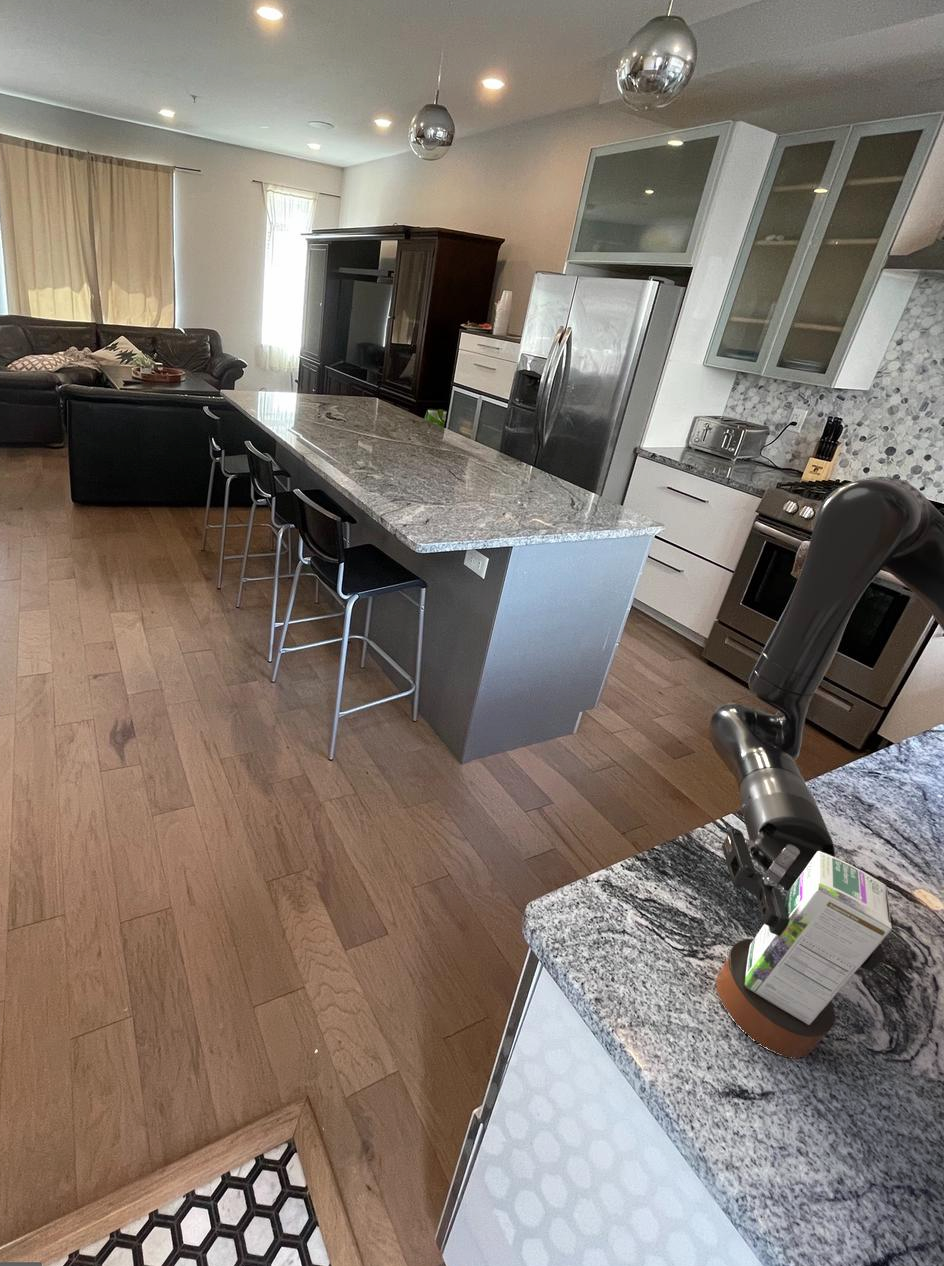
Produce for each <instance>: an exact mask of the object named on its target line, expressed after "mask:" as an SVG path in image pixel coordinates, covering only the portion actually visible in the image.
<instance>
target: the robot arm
mask: <svg viewBox="0 0 944 1266" xmlns="http://www.w3.org/2000/svg"><path fill="white" fill-rule="evenodd" d="M883 569H884V570H885V571H886V572H888V573H889V574H890V575H892V576H893V577H894V578H895V579H897V581H899V582H900V583H902V584H903V585H904V586H905V587H907V588H908V589H909V590H910V591H911V593H913V594H914V595H915V596H916V597H917V598H918V599H919V600H920V601H921V602H922V604H923V605H924V606H925V607H926V608H927V610H928V611H929V612H930V614H931V615H932V617H933V618H934V619H935V621H936V622H937V625H939V627H940V628H941V630H942V631H943V632H944V515H943V514H942V513H941V512H940V510H938V509H937V507H935V505H934V504H933V503H932V502H931V501H930V500H929V499H928V498H927V497H926V496H925V495H924V494H923V493H922V492H921V491H920V489H918V488H916V486H913V485H912V484H910V483H909V482H907V481H905V480H902V479H899V478H895V477H891V476H872V477H871V476H869V477H866V478H861V479H858V480H857V479H856V480H854V481H851V482H849V483H846V484H844V485H842V486H839V487H838V488H836V489H835V490H833V491H832V492H831V493H829V495H828V496H827V497H826V498H825V499H824V500H823V501H822V503H821V505H820V506H819V509H818V512H817V516H816V519H815V523H814V526H813V530H812V533H811V537H810V541H809V545H808V547H807V552H806V556H805V558H804V562H803V564H802V567H801V571H800V573H799V576H798V578H797V581H796V584H795V586H794V587H793V591H792V593H791V595H790V597H789V600H788V601H787V604H786V606H785V608H784V610H783V612H782V614H781V616H780V617H779V619H778V621H777V622H776V625H775V627H774V629H773V630H772V632H771V634H770V637H769V638H768V640H767V642H766V644H765V646H764V647H763V649H762V651H761V653H760V656H759V657H758V660H757V661H756V664H755V666H754V667H753V669H752V671H751V674H750V675H749V678H748V682H747V683H748V688H749V690H750V692H751V693H752V694H753V696H754V697H756V698H758V700H761V701H762V702H764V703H765V704H767V705H769V706H771V707H772V708H774V709H776V710H777V712H776V713H775V714H774V713H771V712H767V711H765V710H761V709H757V708H754V707H751V706H748V705H745V704H742V703H737V702H728V703H724V704H722V705H720V706H718V707H717V708H716V709H714V711H713V712H712V714H711V717H710V719H709V724H708V733H709V734H708V735H709V740H710V742H711V745H712V748H713V749H714V751H715V753H716V754H717V755H718V758H720V760H721V761H722V762H723V764H724V765H725V767H726V768H727V769H728V771H729V772H730V773H731V775H732V776H734V778H735V781H736V785H737V788H738V792H739V802H740V812H741V815H742V817H743V821H744V825H745V828H746V832H747V836H748V838H745V836H744V834H743V832H742V831H741V830H740V829H738V828H735V827H732V828H730V830H729V831H728V834H727V835H726V837H725V839H724V841H723V843H722V845H721V848H722V852H723V855H724V858H725V859H724V860H725V862H726V866H727V869H728V873H729V877H730V880H731V884H732V885H733V887H735V888H736V889H737V890H740V891H745V890H747V891H748V892H750V893H752V896H753V898H754V899H755V900H756V901H757V905H758V909H759V913H760V917H761V920H762V922H763V924H765V925H768V926H769V930H770V932H771V933H773V934H775V935H778V936H780V935H781V934H782V932H783V931H784V930H785V928H786V927H787V925H788V916H787V913H786V909H785V906H784V902H783V895H782V891H781V889H778V887H780V886H781V887H782V888H783V889H784V891H787V892H788V891H789V890H790V888H791V887H792V886H793V884H794V883H795V882H796V880H797V879H798V877H799V876H800V875H801V874H802V872H803V871H804V870H805V868H806V867H807V865H808V864H809V862H810V861H811V860H812V858H813V857H814V855H815V854H816V853H817V852H818V851H821V852H823V853H826V854H828V855H831V856H833V857H835V858H836V853H835V845H834V842H833V839H832V837H831V834H830V832H829V830H828V827H827V825H826V823H825V820H824V817H823V816H822V813H821V811H820V808H819V806H818V802H817V801H816V799H815V797H814V796H813V794H812V792H811V791H810V789H809V788H808V787H807V784H806V781H805V779H804V777H803V774H802V771H801V769H800V767H799V765H798V763H797V762H796V761H797V759H798V757H799V756H800V752H801V748H802V742H803V734H804V729H805V722H806V717H807V715H808V710H809V706H810V704H811V701H812V699H813V697H814V694H816V691H817V689H818V688H819V686H820V684H821V683H822V681H823V679H824V677H825V676H826V674H827V672H828V670H829V668H830V666H831V664H832V662H833V660H834V659H835V656H836V654H837V651H838V648H839V646H840V643H841V641H842V638H843V635H844V632H845V629H846V627H847V624H848V622H849V620H850V618H851V615H852V613H853V611H854V609H855V608H856V606H857V604H858V602H859V601H860V599H861V598H862V596H863V594H864V593H865V591H866V590H867V588H868V587H869V585H870V584H872V582H873V580H875V578H876V577H877V576H878V574H879V573H880V572H881V571H882V570H883ZM752 858H753V860H755V862H756V863H758V865H760V867H761V868H762V869H763V870H764V871H765V873H764V874H763V875H761V874H759V873H757V872H756V868H755V865H754V863H753V860H752ZM890 923H891V926H892V927H893V926H894V925H895V921H894V918H893V916H892V912H890ZM884 958H885V951H884V947H883V946H882V944H881V943H880V944H879V945H878V946H877V947H876V949H875V950H874V951H873V952H872V953H871V955H870V956H869V957H868V958H867V959H866V960H865V962H864V963H863V964H862V965H861V966H860V967H859V968H861V969H864V970H866V971H869V972H873V971H874V970H875V968H877V967H878V966H879V965H880V963H881V962H882V961H883V960H884Z"/></svg>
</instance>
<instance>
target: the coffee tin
mask: <svg viewBox="0 0 944 1266" xmlns="http://www.w3.org/2000/svg"><path fill="white" fill-rule="evenodd" d="M754 939H755V938H750V939H749V938H748V939H742V940H739V941H738V942H736V943H735V944H734V945H733V946H732V947H731V949H730V951H729V954H728V956H727V958H726V959H725V961H724V962H723V965H722V966H721V968H720V969H719V971H718V973H717V975H716V980H715V988H717V989H716V993H717V992H718V993H717V995H718V994H719V996H718V998H719V997H720V999H721V1001H722V1003H723V1005H724V1006H725V1008H726V1009H727V1010H728V1012H729V1013H730V1015H731V1016H732V1018H733V1019H734V1020H735V1022H736V1023H737V1025H739V1026H740V1027H741V1029H742V1030H744V1032H746V1034H747V1035H749V1036H750V1037H751V1038H752V1039H754V1040H755V1041H756V1042H757V1043H759V1044H761V1045H762V1046H764V1047H767V1048H768V1049H770V1050H773V1051H775V1052H776V1053H779V1054H782V1055H783V1056H787V1057H792V1058H791V1059H801V1058H800V1057H802V1058H805V1057H807V1056H809V1055H811V1053H812V1052H813V1051H814V1049H815V1048H816V1047H817V1046H818V1045H819V1043H820V1041H822V1039H823V1038H824V1036H825V1035H827V1034H828V1033H829V1032H830V1031H831V1030H832V1028H833V1027H834V1025H835V1022H836V1012H835V1011H836V1010H835V1007H834V1003H833V1001H832V1000H831V1001H830V1002H829V1003H828V1005H827V1006H826V1007H825V1008H824V1009H823V1010H822V1011H821V1012H820V1014H819V1015H818V1016H817V1017H816V1018H815V1020H814V1021H813V1022H812V1023H811V1024H810V1025H808V1024H806V1023H804V1022H803V1021H801V1020H799V1019H798V1018H796V1017H794V1016H793V1015H791V1014H789V1013H787V1012H786V1011H784V1010H782V1009H781V1008H779V1007H778V1006H776V1005H774V1004H772V1003H771V1002H769V1001H768V1000H766V999H764V998H763V997H761V996H759V995H758V994H756V993H754V992H753V991H751V990H750V989H748V988H746V986H745V976H746V968H747V960H748V954H749V948H750V944H751V943H752V941H753V940H754ZM716 986H717V987H716ZM720 999H719V1000H720ZM794 1057H795V1058H794Z"/></svg>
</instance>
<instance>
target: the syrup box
mask: <svg viewBox="0 0 944 1266" xmlns="http://www.w3.org/2000/svg"><path fill="white" fill-rule="evenodd" d="M782 899H783V902H784V906H785V909H786V913H787V916H788V925H787V927H786V928H785V930H784V931H783V932H782V934H781V935H780V936H778V935H775V934H773V933H771V932H770V930H769V926H768V925H765V923H763V925H762V927H761V928H760V929H759V931H758V933H757V934H756V935H755V937H754V938H753V939H754V940H753V941H752V943H751V944H750V948H749V954H748V960H747V968H746V976H745V986H746V988H748V989H750V990H751V991H753V992H754V993H756V994H758V995H759V996H761V997H763V998H764V999H766V1000H768V1001H769V1002H771V1003H772V1004H774V1005H776V1006H778V1007H779V1008H781V1009H782V1010H784V1011H786V1012H787V1013H789V1014H791V1015H793V1016H794V1017H796V1018H798V1019H799V1020H801V1021H803V1022H804V1023H806V1024H808V1025H810V1024H811V1023H812V1022H813V1021H814V1020H815V1018H816V1017H817V1016H818V1015H819V1014H820V1012H821V1011H822V1010H823V1009H824V1008H825V1007H826V1006H827V1005H828V1003H829V1002H830V1001H832V1000H833V999H834V998H835V996H837V994H838V993H839V992H840V990H842V988H843V987H844V986H845V985H846V984H847V983H848V981H849V980H850V979H851V978H852V976H853V975H854V974H855V973H856V972H857V971H858V969H860V968H861V967H860V966H861V965H862V964H863V963H864V962H865V960H866V959H867V958H868V957H869V956H870V955H871V953H872V952H873V951H874V950H875V949H876V947H877V946H878V945H879V944H881V943H882V942H883V941H884V939H885V938H886V937H887V936H888V935H889V933H891V931H892V930H893V925H892V926H891V923H890V913H891V904H890V898H889V891H888V886H887V885H886V884H885V883H883V882H882V881H880V880H878V879H877V878H875V877H873V875H870V874H868V873H867V872H865V871H863V870H862V869H860V868H857V867H856V866H854V865H852V864H850V863H849V862H846V861H844V860H842V859H840V858H838V857H836V856H835V857H833V856H831V855H828V854H826V853H823V852H821V851H818V852H817V853H816V854H815V855H814V857H813V858H812V860H811V861H810V862H809V864H808V865H807V867H806V868H805V870H804V871H803V872H802V874H801V875H800V876H799V877H798V879H797V880H796V882H795V883H794V884H793V886H792V887H791V888H790V890H789V891H787V892H786V893H785V895H784V896H783V897H782Z"/></svg>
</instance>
